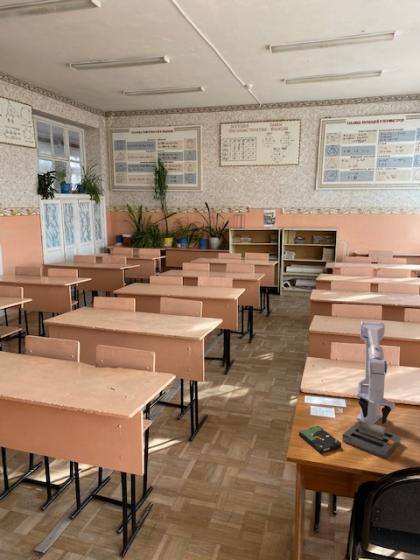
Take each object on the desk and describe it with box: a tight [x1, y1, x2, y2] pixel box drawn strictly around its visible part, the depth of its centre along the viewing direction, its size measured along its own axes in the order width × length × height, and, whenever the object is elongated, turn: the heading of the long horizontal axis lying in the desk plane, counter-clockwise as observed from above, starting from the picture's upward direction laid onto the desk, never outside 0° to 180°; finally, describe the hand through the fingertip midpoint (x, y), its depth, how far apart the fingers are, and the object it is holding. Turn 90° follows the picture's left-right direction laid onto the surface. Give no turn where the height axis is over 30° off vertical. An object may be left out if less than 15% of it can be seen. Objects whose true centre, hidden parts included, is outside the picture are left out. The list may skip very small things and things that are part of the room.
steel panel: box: [358, 419, 386, 442], centre depth 172 cm, size 2×10×7 cm, turn 46°
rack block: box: [341, 421, 402, 459], centre depth 173 cm, size 14×18×3 cm
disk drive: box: [298, 425, 342, 455], centre depth 174 cm, size 10×3×15 cm
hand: (374, 419), depth 172 cm, fingers open, 7 cm apart
